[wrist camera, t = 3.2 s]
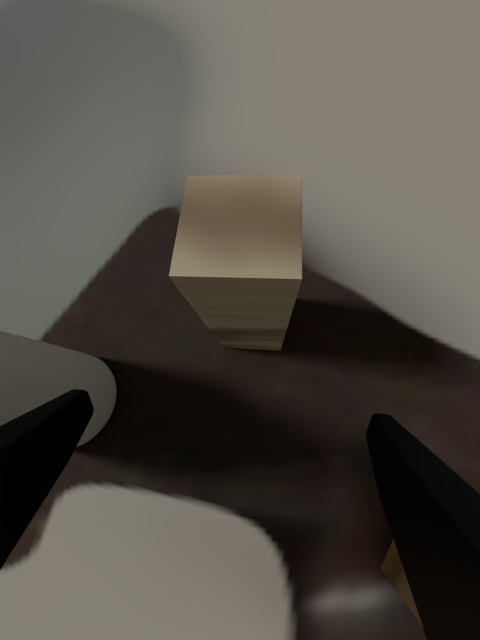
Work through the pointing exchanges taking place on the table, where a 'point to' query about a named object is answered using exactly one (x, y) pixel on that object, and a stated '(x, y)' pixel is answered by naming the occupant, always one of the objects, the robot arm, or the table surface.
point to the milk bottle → (51, 379)
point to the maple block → (241, 255)
